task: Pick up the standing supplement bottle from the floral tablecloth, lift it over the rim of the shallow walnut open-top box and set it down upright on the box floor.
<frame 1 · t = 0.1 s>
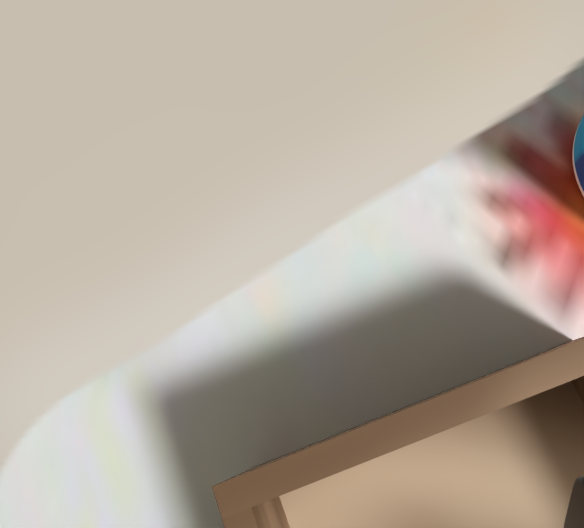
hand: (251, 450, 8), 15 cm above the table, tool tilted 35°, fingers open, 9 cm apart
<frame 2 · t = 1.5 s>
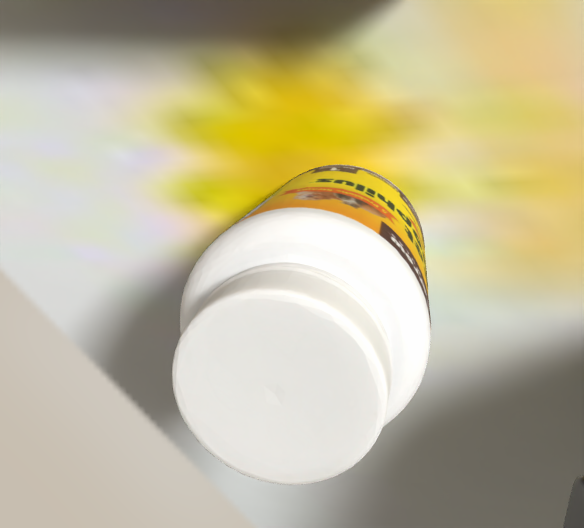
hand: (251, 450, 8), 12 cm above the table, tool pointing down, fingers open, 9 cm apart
supplement bottle: (341, 239, 19), on the table
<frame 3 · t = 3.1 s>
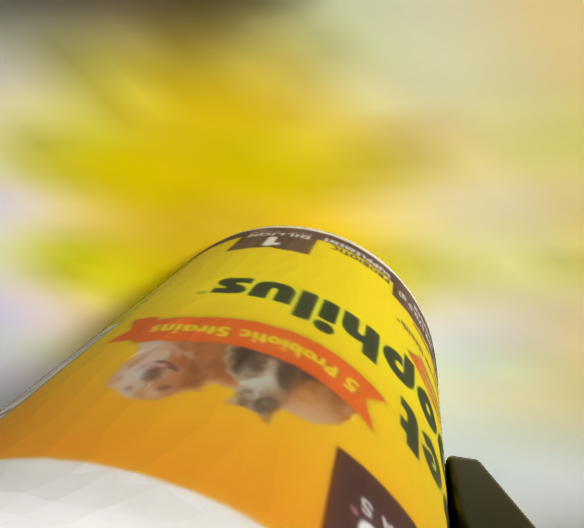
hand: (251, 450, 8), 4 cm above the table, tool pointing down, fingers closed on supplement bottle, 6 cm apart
supplement bottle: (297, 341, 12), on the table, touching gripper
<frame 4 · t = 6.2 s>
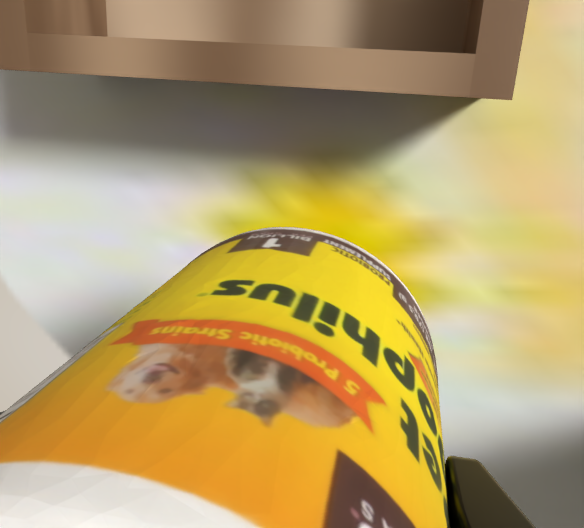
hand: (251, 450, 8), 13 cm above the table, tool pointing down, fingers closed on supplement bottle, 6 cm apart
supplement bottle: (298, 342, 12), point 9 cm above the table, touching gripper
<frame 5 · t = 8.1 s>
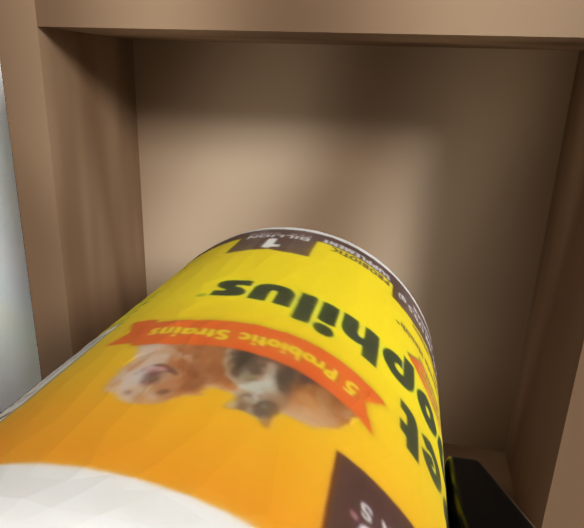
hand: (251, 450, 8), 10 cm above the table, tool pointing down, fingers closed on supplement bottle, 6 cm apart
supplement bottle: (297, 342, 12), point 6 cm above the table, touching gripper
walnut box: (330, 251, 17), on the table
when the fingers open (5 cm above the table, at t = 9.5 s): supplement bottle drops 1 cm, resting on walnut box.
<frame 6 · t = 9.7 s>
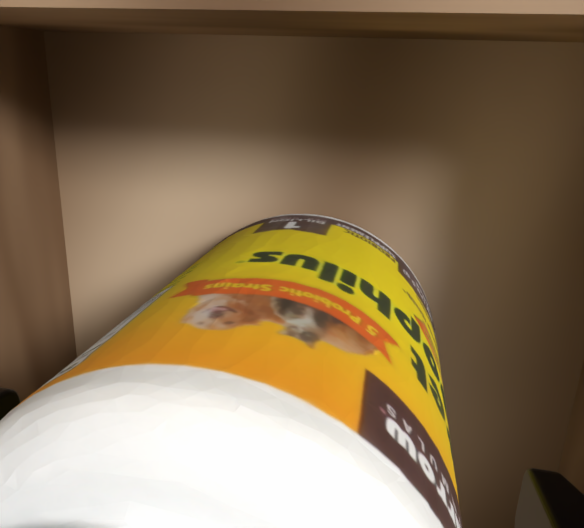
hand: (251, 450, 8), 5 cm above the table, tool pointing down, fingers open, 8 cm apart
supplement bottle: (309, 320, 13), resting on walnut box
walnut box: (310, 307, 13), on the table
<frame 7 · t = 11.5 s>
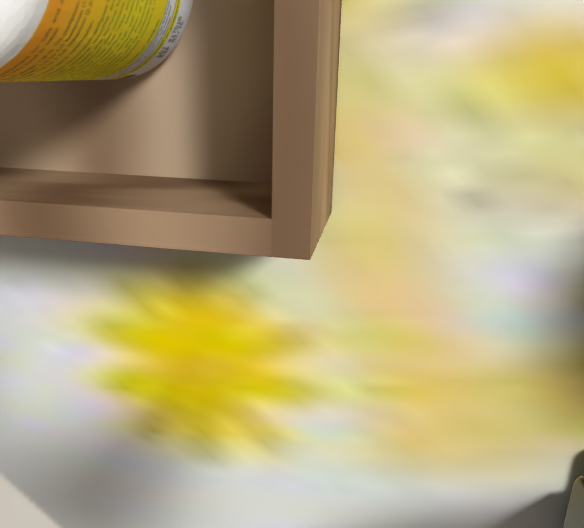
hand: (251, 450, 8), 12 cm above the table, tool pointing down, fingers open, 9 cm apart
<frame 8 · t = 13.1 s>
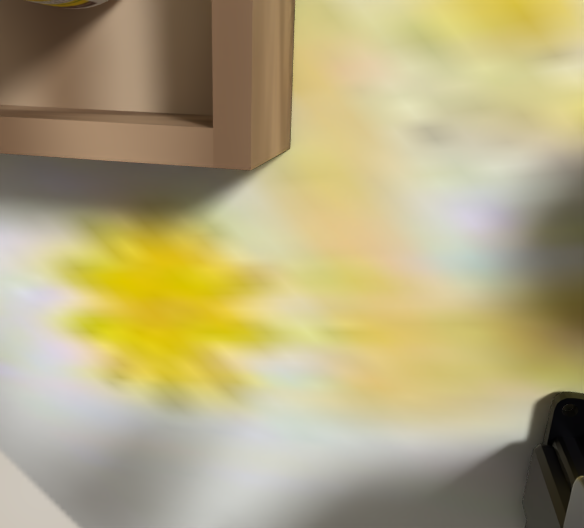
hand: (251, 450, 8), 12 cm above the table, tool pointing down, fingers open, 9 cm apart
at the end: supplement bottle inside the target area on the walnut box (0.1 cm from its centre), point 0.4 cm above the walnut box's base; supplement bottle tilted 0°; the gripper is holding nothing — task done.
